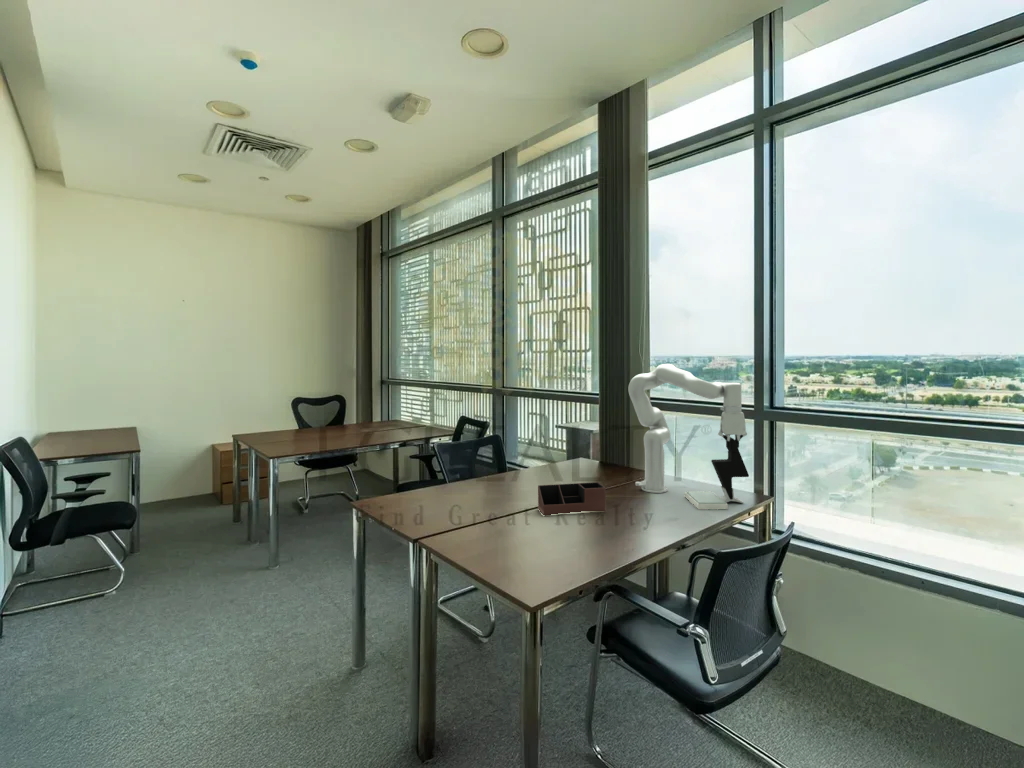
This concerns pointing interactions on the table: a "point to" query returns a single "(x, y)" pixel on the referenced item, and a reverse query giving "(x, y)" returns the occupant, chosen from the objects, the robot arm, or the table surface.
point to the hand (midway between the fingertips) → (732, 448)
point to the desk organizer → (571, 498)
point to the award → (730, 471)
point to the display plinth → (705, 500)
